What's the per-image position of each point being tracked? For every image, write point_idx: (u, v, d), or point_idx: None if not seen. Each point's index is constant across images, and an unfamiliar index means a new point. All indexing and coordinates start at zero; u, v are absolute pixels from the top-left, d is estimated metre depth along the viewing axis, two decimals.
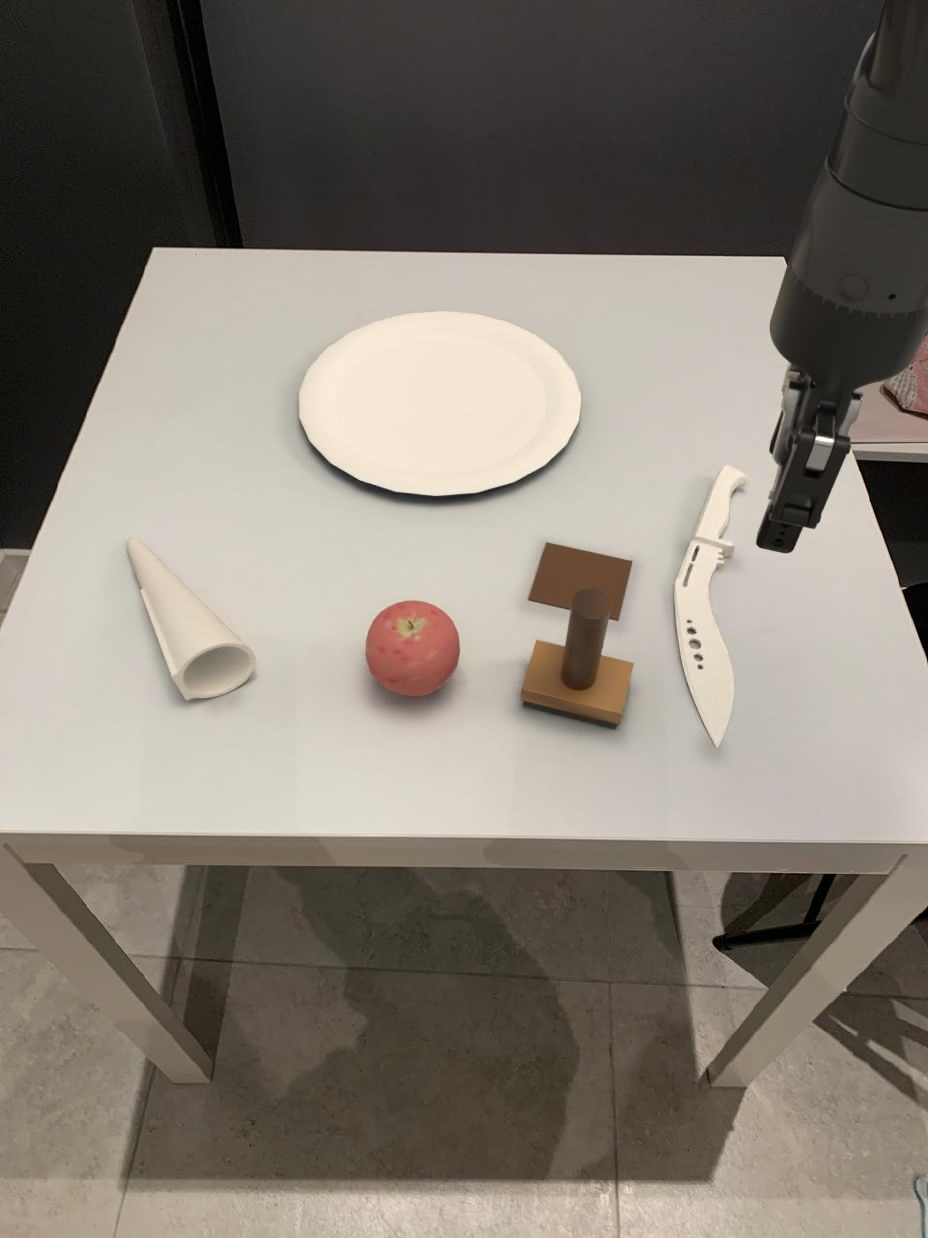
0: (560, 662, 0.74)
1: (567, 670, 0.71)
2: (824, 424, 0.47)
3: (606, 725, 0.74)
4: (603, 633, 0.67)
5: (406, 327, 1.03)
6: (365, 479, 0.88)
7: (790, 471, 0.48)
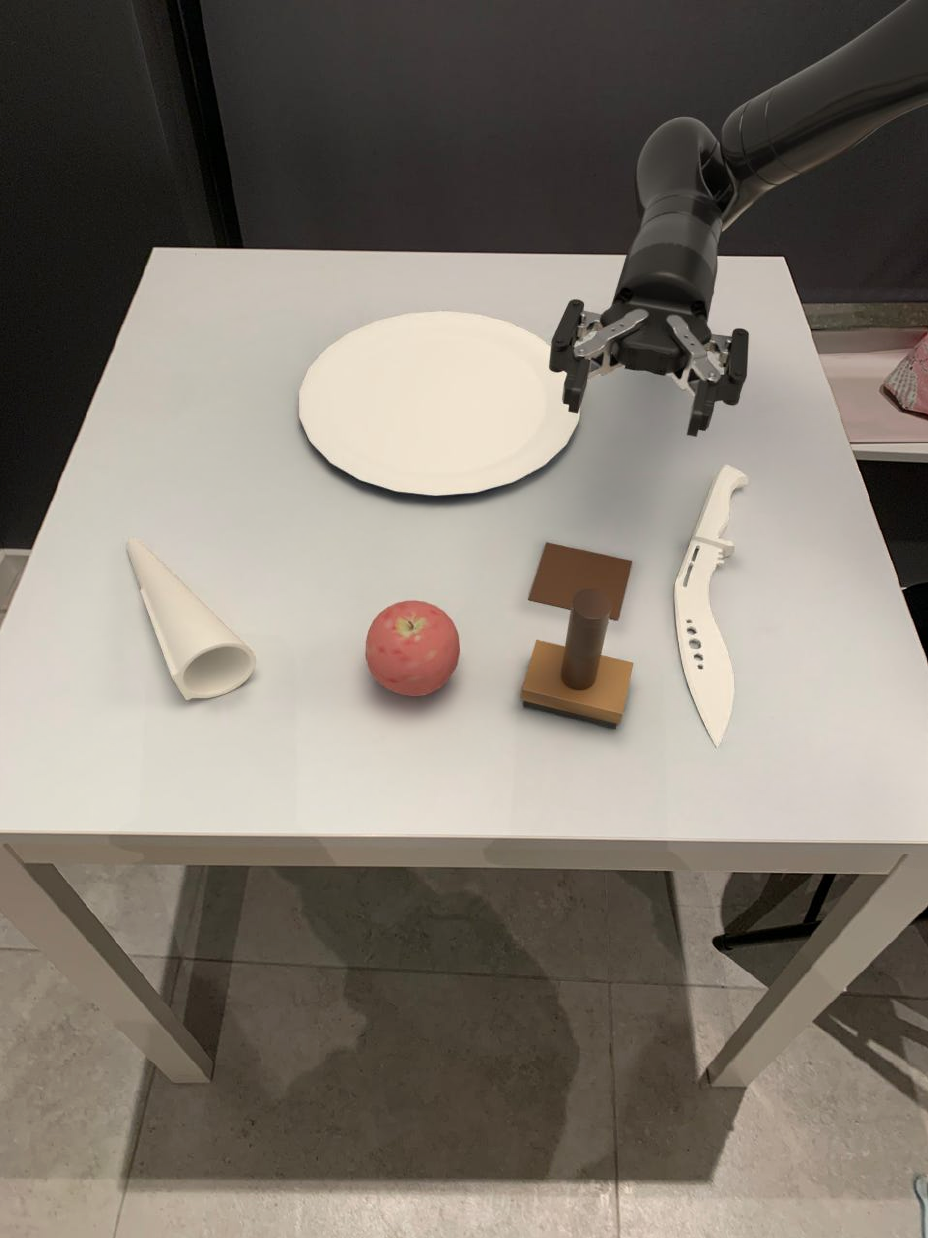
0: (560, 662, 0.74)
1: (567, 670, 0.71)
2: None
3: (606, 725, 0.74)
4: (603, 633, 0.67)
5: (406, 327, 1.03)
6: (365, 479, 0.88)
7: None
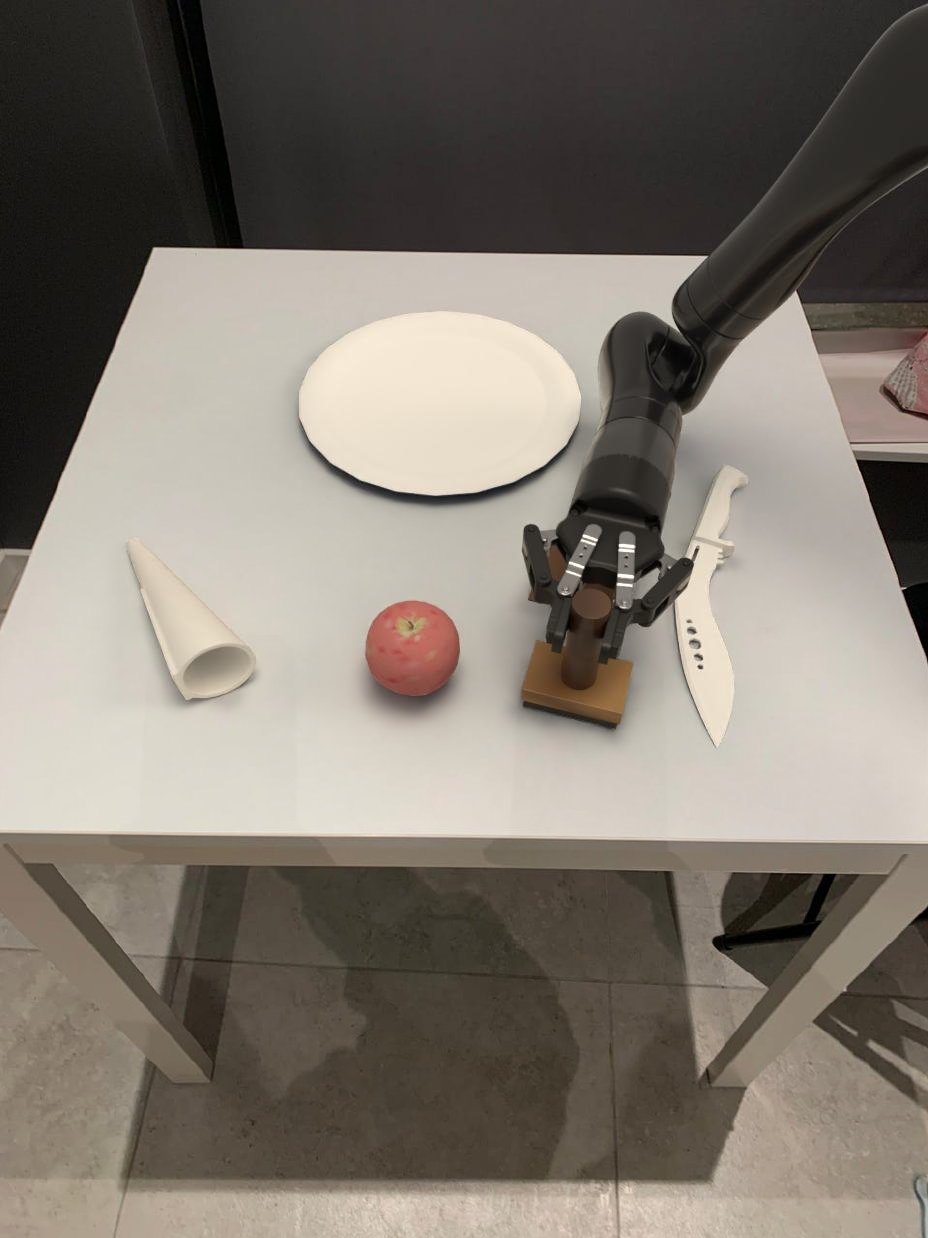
0: (560, 662, 0.74)
1: (567, 670, 0.71)
2: None
3: (606, 725, 0.74)
4: (603, 633, 0.67)
5: (406, 327, 1.03)
6: (365, 479, 0.88)
7: None
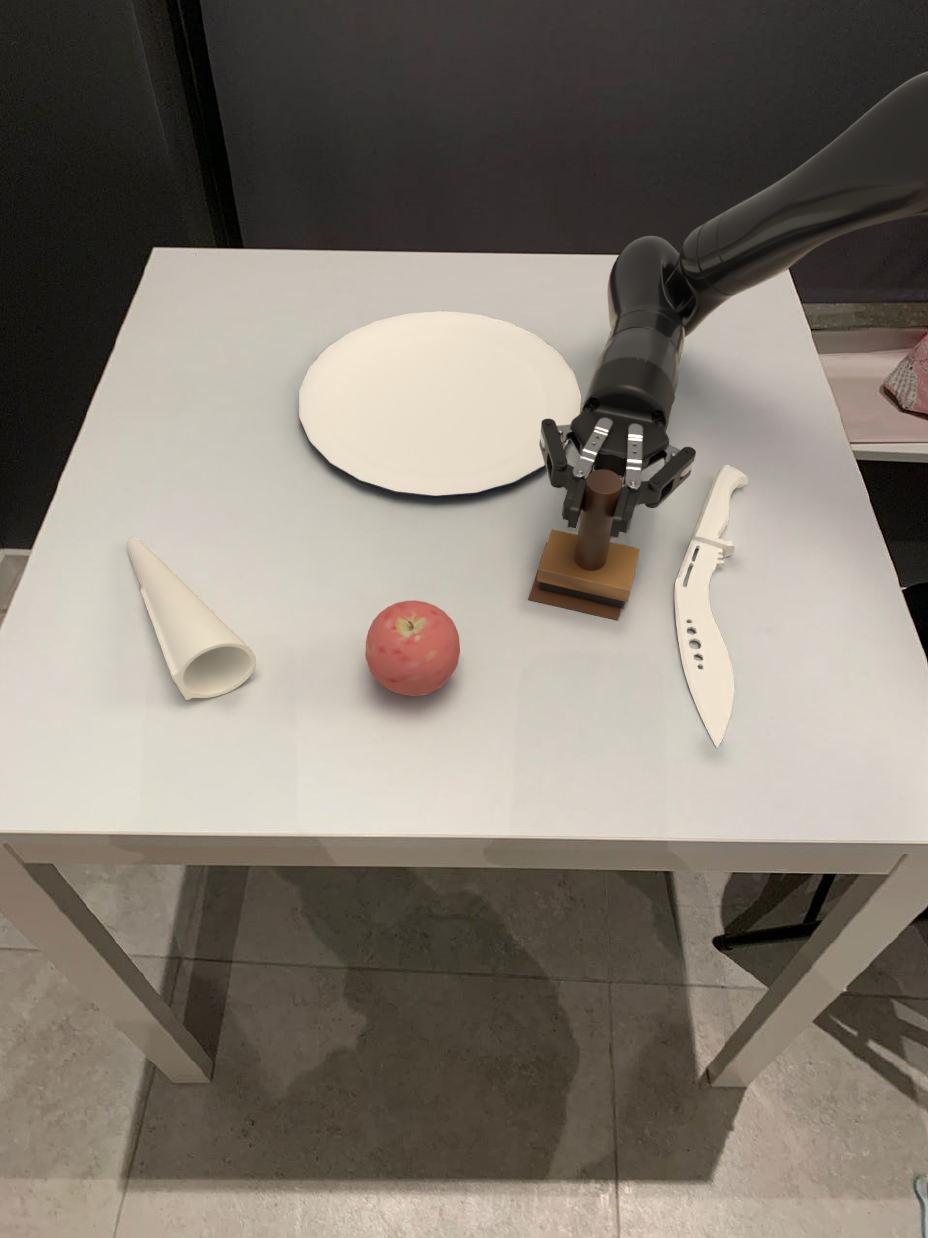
0: (573, 547, 0.81)
1: (580, 550, 0.79)
2: None
3: (615, 604, 0.81)
4: (614, 510, 0.75)
5: (406, 327, 1.03)
6: (365, 479, 0.88)
7: (543, 456, 0.80)
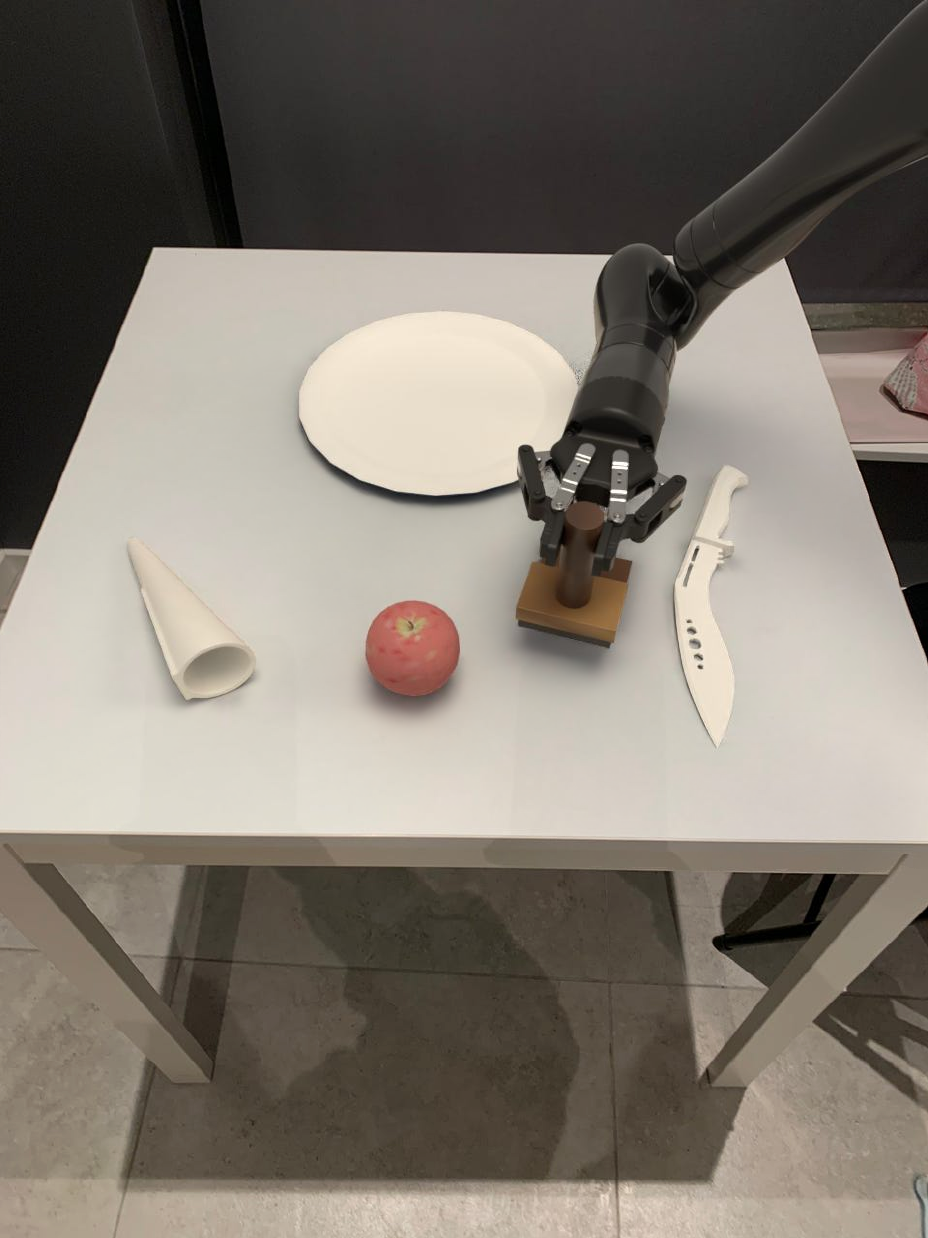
0: (555, 582, 0.75)
1: (562, 587, 0.72)
2: None
3: (600, 644, 0.74)
4: (596, 546, 0.68)
5: (406, 327, 1.03)
6: (365, 479, 0.88)
7: (520, 486, 0.73)
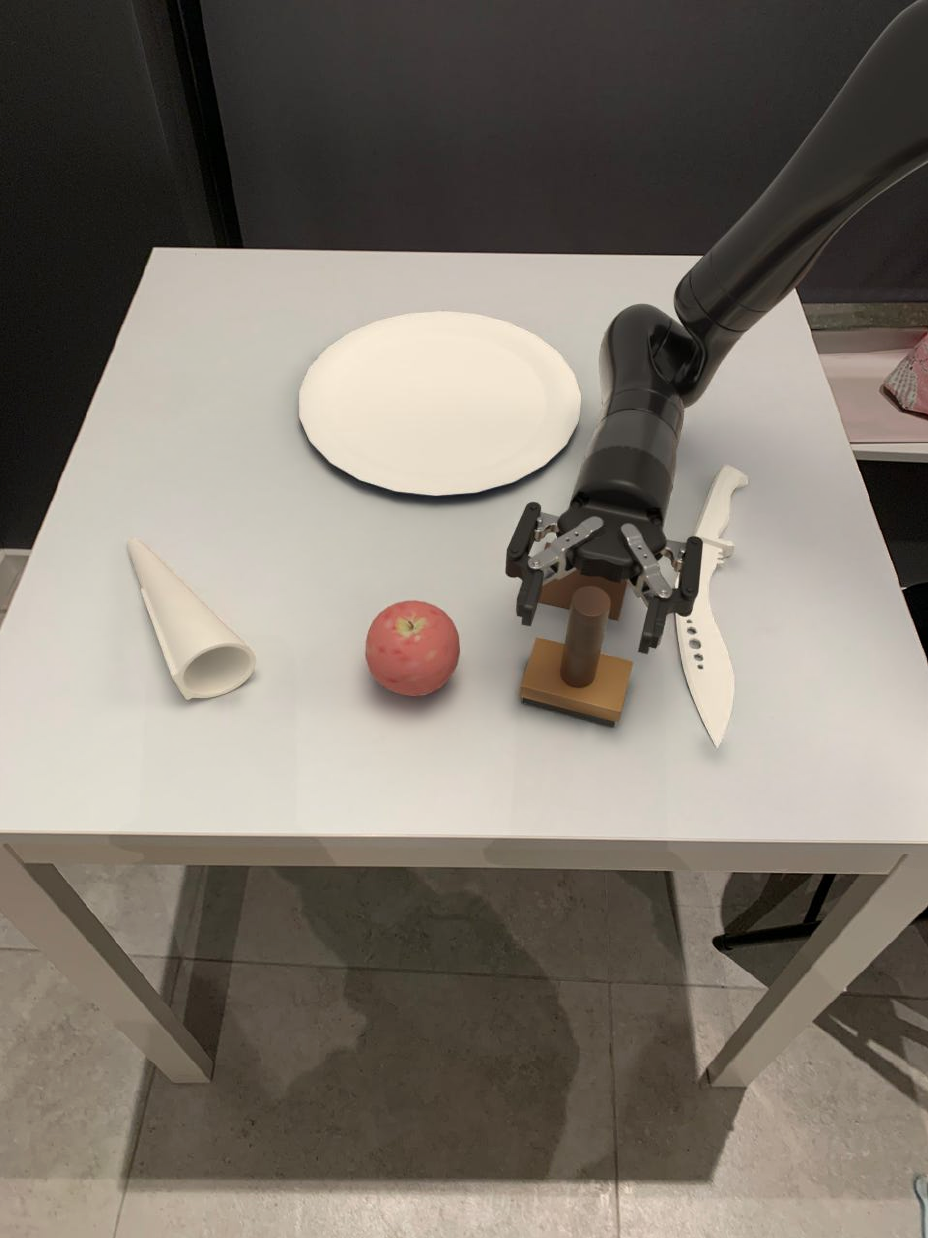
0: (560, 659, 0.74)
1: (566, 667, 0.71)
2: None
3: (605, 723, 0.74)
4: (602, 631, 0.68)
5: (406, 327, 1.03)
6: (365, 479, 0.88)
7: None
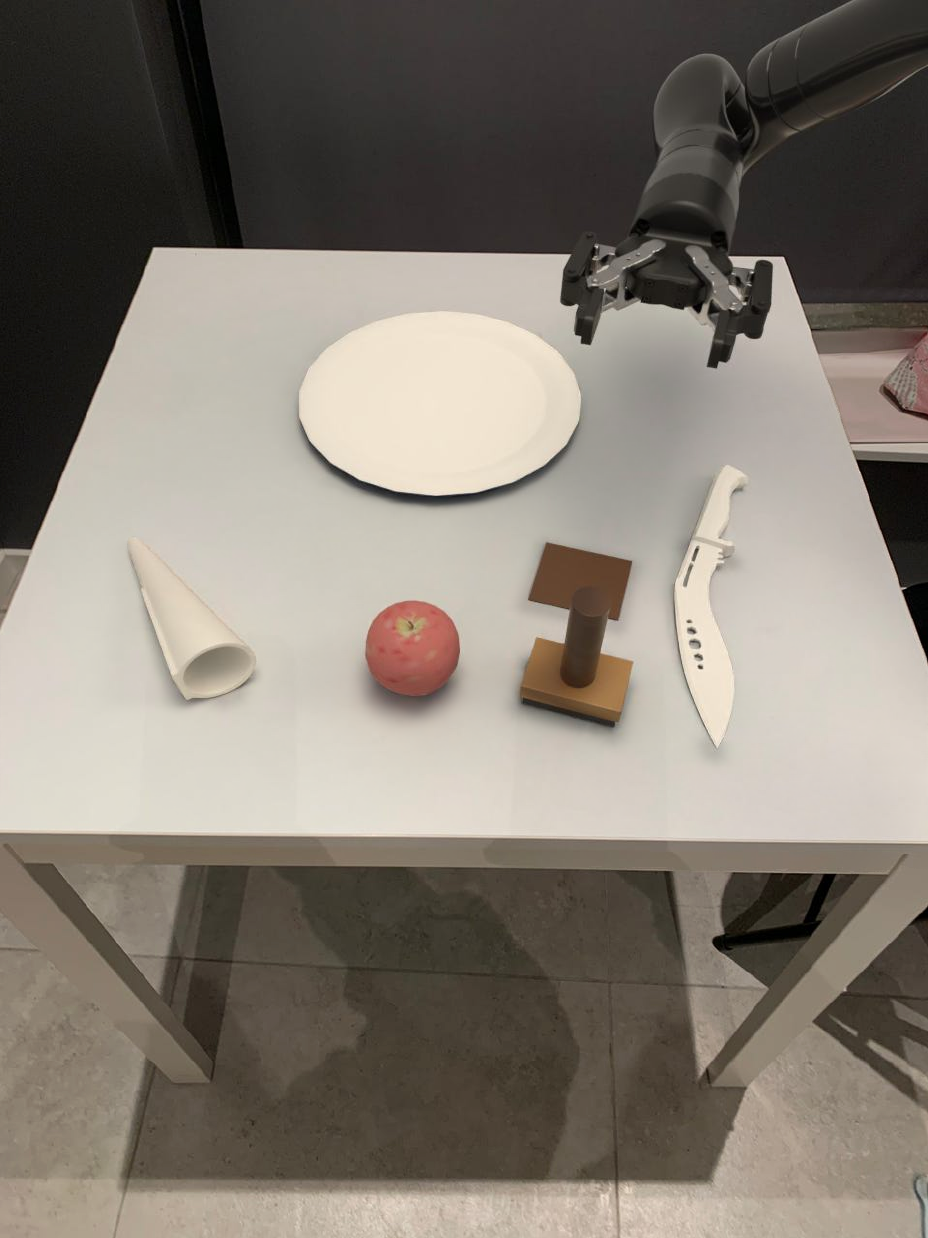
0: (560, 660, 0.74)
1: (567, 668, 0.71)
2: None
3: (605, 723, 0.74)
4: (602, 631, 0.68)
5: (406, 327, 1.03)
6: (365, 479, 0.88)
7: None
